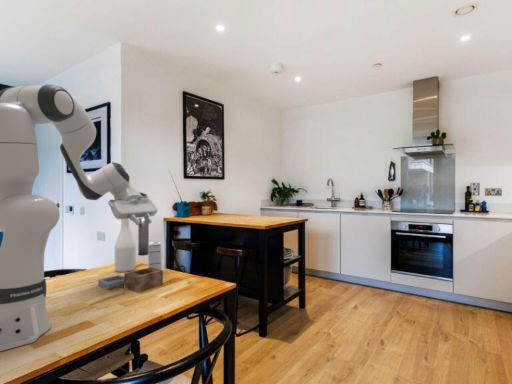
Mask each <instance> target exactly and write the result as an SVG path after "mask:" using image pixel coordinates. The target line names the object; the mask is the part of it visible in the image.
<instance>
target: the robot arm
mask: <svg viewBox="0 0 512 384" xmlns="http://www.w3.org/2000/svg"><path fill="white" fill-rule="evenodd" d="M50 123H52V124H53V126H54V127H55V129H56V130H57V131H58V132H59V134H60V136H61V141H62V142H61V144H60V145H59V149H60V152H61V154H62V156H63V159H64V161H65V163H66V165H67V166H68V169H69V171H70V172H71V175H72V176H73V179H75V181H76V184H77V187H78V190H79V192H80V194H81V195H82V196H83V198H85V199H86V200H90V201H98V200H99V199H100V198H102V197H103V196H104V195H106V194H107V193H110V194H111V195H112V196H113V199H110V200H109V201H108V206H109V207H110V210H111V212H112V214H113V216H114V218H115V219H117V220H121V219H128V218H129V220H130V221H132V223H135V225H136V226H138V225H140V224H141V223H142V222H141V220H140V219H139V218H149V224H151V223H152V218H151V217H154V216H155V215H156V214H157V213H158V208H157V207H156V204H155V203H154V202H153V201H152V200H151V199H150V198H149V195H148V193H143V192H140V191H138V190H135V188H134V187H132V185H131V183H130V178H131V177H130V175H129V173H128V172H126V170H125V168H124V167H123V165H122V164H121V163H117V162H110V163H108V164H106V165H104V166H102V167H100V168H99V169H96V170H95V171H94V172H92V173H90V174H86V173H85V171H84V169H83V167H82V165H81V162H80V161H81V158H82V156H83V155H84V153H85V152H86V151H87V150H88V149H89V148H90V147H91V146H92V145H93V143H94V142H95V140H96V136H97V128H96V126H95V123H94V122H93V120H92V119H91V117H90V116H89V114H88V113H87V111H86V109H85V108H84V107H83V106H82V104H81V103H80V102H79V101H78V100H77V99H76V98H75V97H74V96H73V95H72V94H70V92H68V91H67V90H66V89H65V88H63V87H62V86H59V85H55V84H44V85H43V84H37V85H36V84H35V85H32V84H31V85H30V84H27V85H19V86H14V87H7V88H4V89H1V90H0V232H1V233H2V235H3V236H2V240H1V244H0V352H4V351H6V350H9V349H10V350H11V349H14V348H17V347H20V346H24V345H25V346H26V345H28V344H31V343H34V342H36V341H37V340H39V338H40V336H42V335H43V334H44V333H45V334H46V332H47V331H49V330H50V329H51V327H52V323H51V321H50V317H49V314H48V311H47V304H46V298H47V280H46V278H45V251H46V246H47V242H48V239H49V236H50V233H51V231H52V229H54V228H55V227H56V226H57V224H58V222H59V219H60V214H61V213H60V209H59V207H58V205H57V204H56V203H55V202H54V201H53V200H51V199H49V198H46V197H45V196H44V197H43V196H41V195H38V194H37V195H36V194H33V188H34V183H35V180H36V178H37V176H38V175H39V172H40V162H39V153H38V152H39V151H38V143H37V135H36V131H35V129H36V128H35V127H36V125H43V124H50Z"/></svg>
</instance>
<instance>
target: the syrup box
mask: <svg viewBox="0 0 512 384" xmlns="http://www.w3.org/2000/svg"><path fill="white" fill-rule="evenodd" d="M149 267H151V268H155V269H159V270H162V243H161V242H160V241H151V242H149V254H148V268H149Z"/></svg>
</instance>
